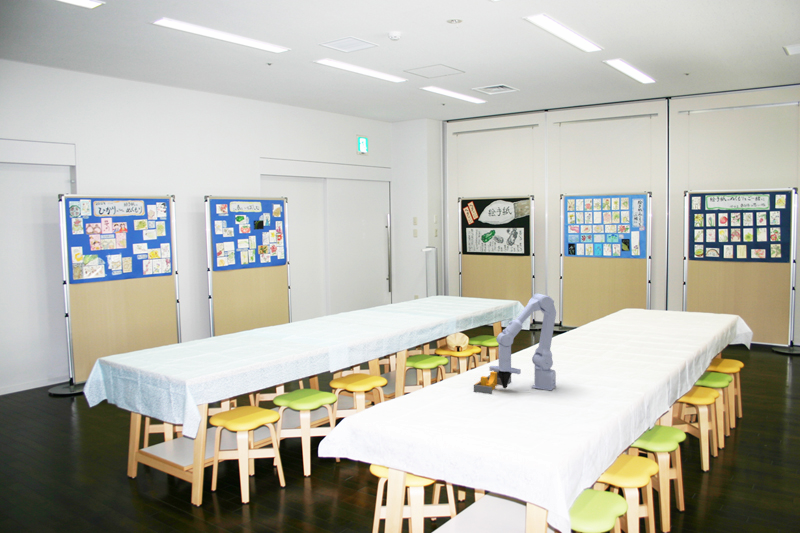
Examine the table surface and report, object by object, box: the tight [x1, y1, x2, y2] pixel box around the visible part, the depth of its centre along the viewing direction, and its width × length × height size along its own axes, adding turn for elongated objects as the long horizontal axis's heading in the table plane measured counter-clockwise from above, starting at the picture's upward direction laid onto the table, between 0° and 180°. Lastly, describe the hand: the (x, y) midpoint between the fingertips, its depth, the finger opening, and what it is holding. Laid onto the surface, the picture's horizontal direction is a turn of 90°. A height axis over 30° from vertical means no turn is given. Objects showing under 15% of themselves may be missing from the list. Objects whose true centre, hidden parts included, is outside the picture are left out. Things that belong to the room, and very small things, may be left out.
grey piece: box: [473, 371, 512, 395], centre depth 279 cm, size 10×24×6 cm, turn 149°
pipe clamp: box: [480, 371, 498, 391], centre depth 277 cm, size 12×4×6 cm, turn 145°
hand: (504, 387), depth 273 cm, fingers closed
